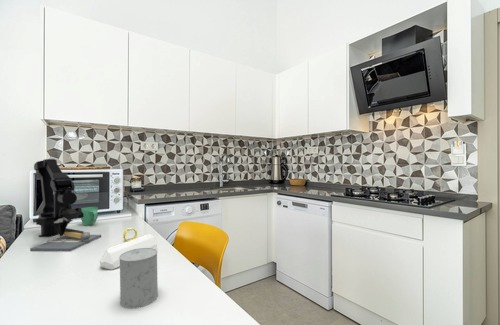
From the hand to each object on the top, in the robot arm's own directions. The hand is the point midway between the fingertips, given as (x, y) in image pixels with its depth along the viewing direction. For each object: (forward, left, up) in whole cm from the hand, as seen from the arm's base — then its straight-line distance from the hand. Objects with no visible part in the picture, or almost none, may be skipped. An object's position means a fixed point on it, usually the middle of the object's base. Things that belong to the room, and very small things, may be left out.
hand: (61, 235), depth 119 cm
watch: (+32, +3, -3) cm, 33 cm away
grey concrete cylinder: (+62, -47, -3) cm, 78 cm away
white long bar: (+44, -19, -3) cm, 48 cm away
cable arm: (+6, +1, 0) cm, 6 cm away
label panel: (+5, -2, -3) cm, 6 cm away
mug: (-8, +31, -3) cm, 32 cm away
